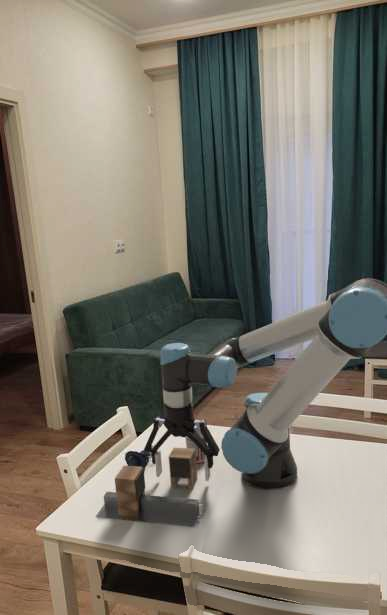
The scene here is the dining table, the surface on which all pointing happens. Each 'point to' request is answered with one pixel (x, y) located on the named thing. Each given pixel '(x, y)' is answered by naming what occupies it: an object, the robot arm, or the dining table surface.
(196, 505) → the rail
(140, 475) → the wooden block
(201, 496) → the dining table surface
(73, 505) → the dining table surface
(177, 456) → the walnut finger
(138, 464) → the toy
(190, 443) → the pill bottle
